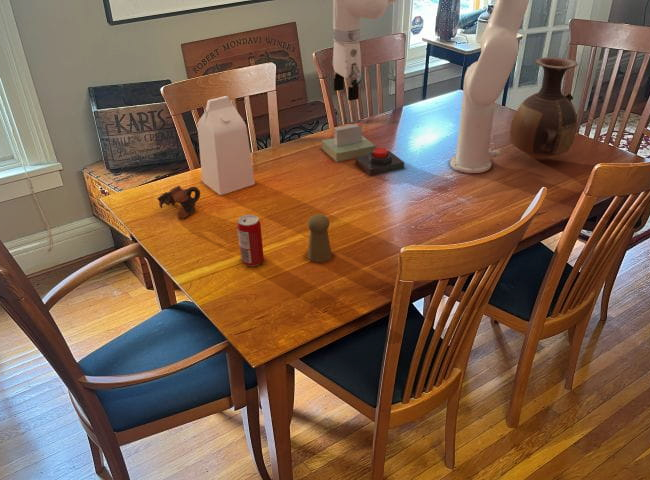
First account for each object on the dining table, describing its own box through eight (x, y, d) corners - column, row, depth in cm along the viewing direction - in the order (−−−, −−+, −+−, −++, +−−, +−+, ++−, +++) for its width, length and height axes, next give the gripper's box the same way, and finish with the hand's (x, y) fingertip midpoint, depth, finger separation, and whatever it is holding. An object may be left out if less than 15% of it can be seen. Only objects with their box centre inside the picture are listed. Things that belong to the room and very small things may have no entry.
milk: (236, 171, 196) (226, 89, 180) (255, 184, 188) (246, 99, 172) (202, 181, 190) (189, 98, 175) (220, 195, 183) (208, 108, 167)
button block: (388, 157, 201) (389, 145, 199) (404, 168, 194) (404, 156, 192) (355, 163, 198) (356, 152, 195) (370, 176, 190) (370, 164, 188)
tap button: (383, 151, 196) (383, 146, 195) (389, 157, 193) (389, 151, 192) (370, 154, 195) (370, 149, 194) (377, 159, 191) (377, 154, 190)
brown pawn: (306, 250, 157) (305, 212, 150) (330, 248, 157) (329, 210, 151) (308, 263, 152) (306, 224, 146) (332, 261, 153) (332, 222, 146)
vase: (558, 178, 186) (581, 77, 168) (495, 165, 194) (511, 67, 176) (577, 151, 201) (600, 56, 183) (518, 140, 210) (535, 48, 192)
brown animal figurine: (174, 225, 170) (157, 198, 167) (167, 224, 179) (152, 200, 176) (210, 202, 173) (194, 176, 171) (202, 203, 182) (187, 179, 179)
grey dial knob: (337, 146, 202) (337, 129, 198) (334, 143, 204) (334, 127, 200) (362, 141, 204) (362, 124, 201) (358, 139, 206) (359, 122, 203)
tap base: (337, 162, 199) (337, 153, 197) (321, 148, 209) (320, 139, 207) (375, 154, 203) (376, 145, 201) (358, 140, 213) (358, 132, 211)
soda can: (266, 255, 155) (262, 213, 148) (261, 267, 151) (256, 225, 144) (244, 254, 156) (239, 212, 149) (239, 266, 152) (233, 223, 145)
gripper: (372, 40, 171) (370, 101, 181) (344, 26, 184) (344, 84, 194) (348, 43, 169) (347, 105, 179) (321, 30, 181) (322, 88, 192)
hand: (345, 94), depth 187 cm, fingers open, 9 cm apart
